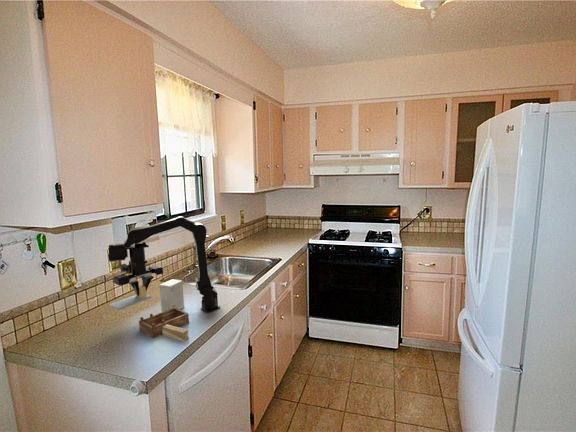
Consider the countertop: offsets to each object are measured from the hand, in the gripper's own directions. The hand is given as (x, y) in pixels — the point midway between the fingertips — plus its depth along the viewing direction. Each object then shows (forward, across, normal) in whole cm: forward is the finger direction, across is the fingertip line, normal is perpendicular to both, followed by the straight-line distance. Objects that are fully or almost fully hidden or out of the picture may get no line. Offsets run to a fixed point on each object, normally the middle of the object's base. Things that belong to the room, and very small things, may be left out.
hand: (141, 294), depth 138 cm
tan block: (+12, -1, +23) cm, 26 cm away
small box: (+12, -14, 0) cm, 18 cm away
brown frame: (+12, -3, +12) cm, 17 cm away
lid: (+2, +4, 0) cm, 5 cm away
